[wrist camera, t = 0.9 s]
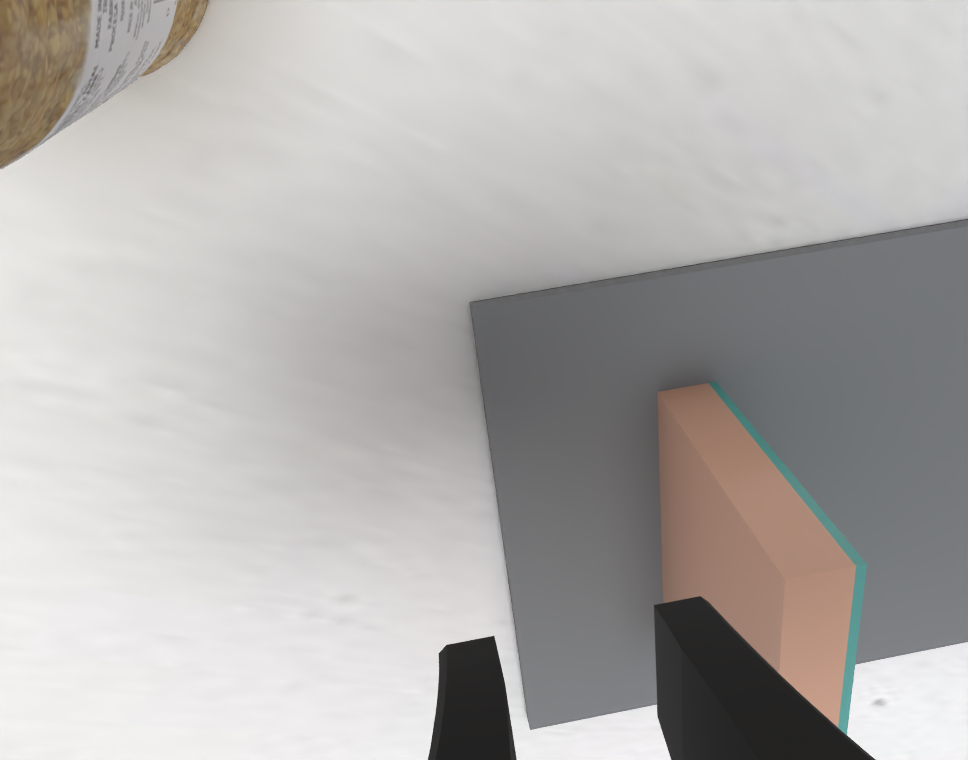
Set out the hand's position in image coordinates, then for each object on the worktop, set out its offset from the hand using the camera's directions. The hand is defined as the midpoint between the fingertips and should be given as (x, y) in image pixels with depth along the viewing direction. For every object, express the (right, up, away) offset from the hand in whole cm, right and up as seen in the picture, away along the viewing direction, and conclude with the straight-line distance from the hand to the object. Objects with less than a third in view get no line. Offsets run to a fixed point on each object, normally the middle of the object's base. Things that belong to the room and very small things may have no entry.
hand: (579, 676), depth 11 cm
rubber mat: (+8, +1, +13) cm, 15 cm away
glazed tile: (+4, 0, +12) cm, 13 cm away
